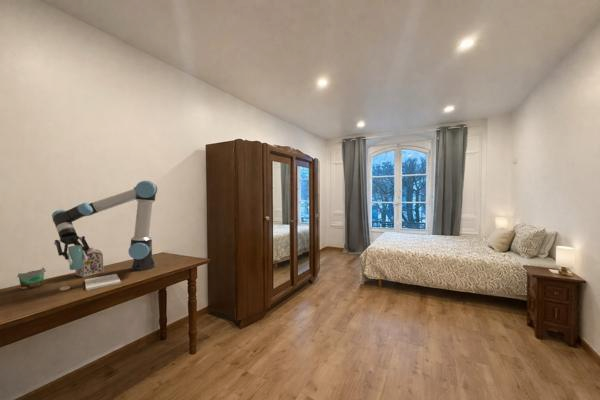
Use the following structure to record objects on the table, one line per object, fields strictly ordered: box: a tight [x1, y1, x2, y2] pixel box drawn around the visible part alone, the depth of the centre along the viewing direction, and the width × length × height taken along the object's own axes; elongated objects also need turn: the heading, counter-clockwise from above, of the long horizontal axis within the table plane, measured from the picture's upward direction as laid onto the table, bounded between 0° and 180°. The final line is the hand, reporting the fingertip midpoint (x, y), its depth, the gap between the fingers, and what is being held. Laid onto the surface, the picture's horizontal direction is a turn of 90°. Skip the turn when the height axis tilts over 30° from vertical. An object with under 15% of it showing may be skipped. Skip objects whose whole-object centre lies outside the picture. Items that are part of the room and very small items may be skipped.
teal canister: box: [67, 244, 84, 271], centre depth 141 cm, size 6×6×13 cm
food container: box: [16, 267, 47, 291], centre depth 145 cm, size 12×6×10 cm, turn 168°
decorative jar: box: [75, 247, 104, 278], centre depth 168 cm, size 12×12×18 cm
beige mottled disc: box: [59, 285, 71, 292], centre depth 141 cm, size 4×4×1 cm
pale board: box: [84, 273, 122, 291], centre depth 151 cm, size 16×20×1 cm
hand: (78, 261), depth 139 cm, fingers closed on teal canister, 6 cm apart
